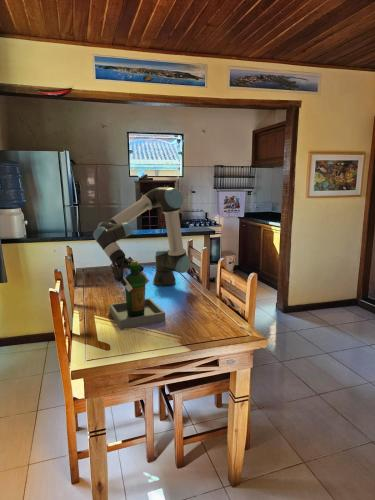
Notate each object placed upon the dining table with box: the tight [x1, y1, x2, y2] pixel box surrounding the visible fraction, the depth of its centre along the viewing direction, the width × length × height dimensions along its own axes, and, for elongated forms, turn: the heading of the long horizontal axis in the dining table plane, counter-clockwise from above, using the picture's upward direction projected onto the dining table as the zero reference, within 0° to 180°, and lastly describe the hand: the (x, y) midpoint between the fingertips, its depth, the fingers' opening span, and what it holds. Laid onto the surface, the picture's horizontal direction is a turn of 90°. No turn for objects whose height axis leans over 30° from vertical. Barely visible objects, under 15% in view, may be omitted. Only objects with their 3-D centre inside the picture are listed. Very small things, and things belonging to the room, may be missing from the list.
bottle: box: [124, 259, 146, 317], centre depth 159 cm, size 11×11×28 cm
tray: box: [108, 297, 166, 331], centre depth 162 cm, size 22×22×4 cm
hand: (139, 286), depth 158 cm, fingers open, 13 cm apart
